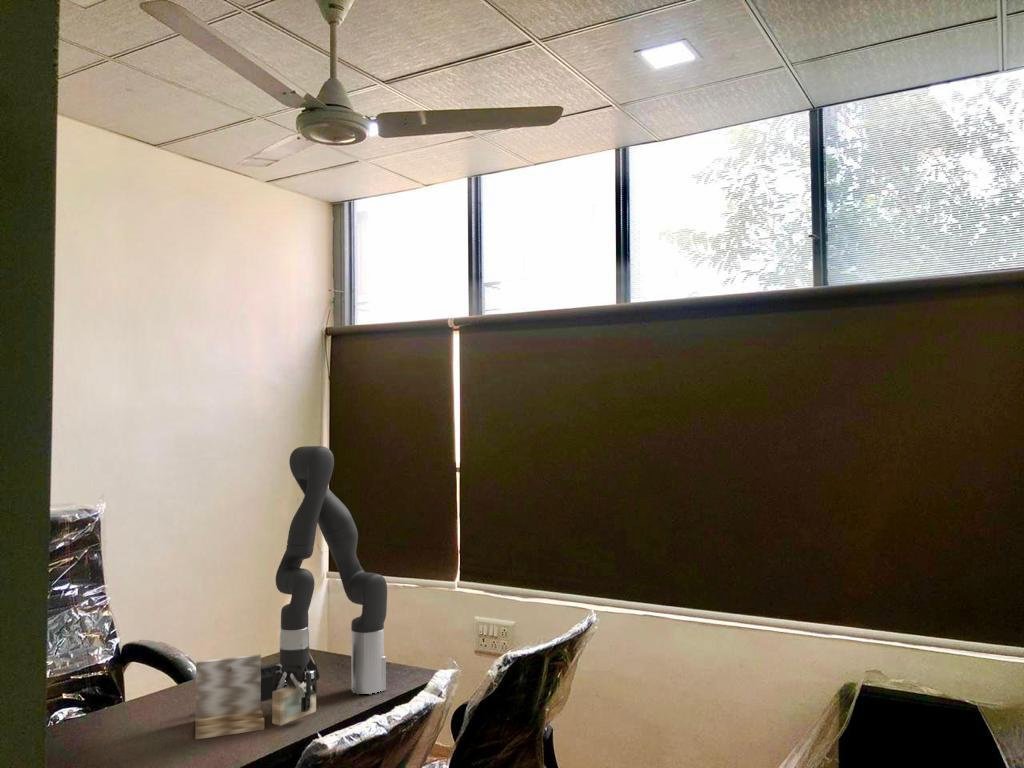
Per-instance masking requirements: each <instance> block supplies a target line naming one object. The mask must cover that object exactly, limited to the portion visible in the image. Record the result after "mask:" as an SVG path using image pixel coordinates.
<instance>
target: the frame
mask: <svg viewBox="0 0 1024 768" xmlns="http://www.w3.org/2000/svg"><path fill="white" fill-rule="evenodd" d="M302 684H304V682H303V683H302ZM302 684H301V685H302ZM311 690H312V686H311ZM304 691H305V692H306V689H305V688H304ZM301 697H302V695H301V693H300V691H299V690H297V688H296V686H293V685H290V686H287V687H285V688H282V689H279V690H276V691H273V692H272V699H271V700H272V702H271V703H272V704H271V705H272V709H271V710H272V712H271V716H272V717H271V718H272V719H271V720H272V721H271V722H272V724H274V725H277V726H282V725H285V724H287V723H290V721H291V722H293V721H296V720H298V719H301V718H303V717H305V716H308V715H311V714H313V713H315V712H317V693H316V694H313V695H311V697H310V709H309V711H306V712H302V711H301Z"/></svg>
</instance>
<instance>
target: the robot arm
mask: <svg viewBox="0 0 1024 768" xmlns="http://www.w3.org/2000/svg"><path fill="white" fill-rule="evenodd" d="M334 466H335V457H334V454H333V452H332V451H331V449H330V448H328V447H326V446H321V445H319V446H318V445H311V446H310V445H309V446H308V445H307V446H299V447H296V448H295V449H293V450H292V452H291V454H290V456H289V469H290V471H291V474H292V476H293V478H294V479H295V481H296V483H297V485H298V486H299V489H300V490H301V491H302V493H303V495H304V497H303V499H302V502H301V503H300V506H299V507H298V508H297V510H296V511H295V513H294V516H293V517H292V520H291V522H290V524H289V525H290V526H289V529H288V535H287V536H288V537H287V539H286V540H287V541H286V542H287V543H286V549H285V552H284V554H283V555H282V558H281V560H280V563H279V565H278V567H277V571H276V574H275V586H276V589H277V590H278V592H280V593H281V594H283V595H290V596H291V597H290V601H289V603H287V604H285V605H283V606H282V607H281V610H280V611H281V612H280V633H279V662H280V664H277V665H274V666H273V683H272V686H273V688H276V689H277V690H279V689H282V688H285V687H287V686H289V685H293V686H296V688H297V690H299V691H300V693H301V695H302V697H301V711H302V712H306V711H309V709H310V697H311V695H313V694H316V695H317V693H318V690H317V689H318V688H317V686H318V685H317V681H316V671H315V670H312V671H308V670H307V663H308V662H309V653H310V629H309V610H310V607H311V603H312V599H313V594H314V590H315V578H314V575H313V573H312V571H310V570H309V569H307V568H302V567H301V566H302V564H303V561H304V560H307V559H310V558H311V557H312V556H313V553H314V546H315V541H316V536H317V535H316V534H317V529H318V528H317V527H319V530H320V532H321V534H322V536H323V539H324V541H325V543H326V544H327V546H328V549H329V551H330V554H331V557H332V558H333V561H334V563H335V565H336V568H337V571H338V575H339V578H340V580H341V584H342V587H343V590H344V593H345V595H346V597H347V599H348V600H349V601H350V602H351V603H353V604H355V605H361V607H362V608H361V615H360V616H356V617H355V618H353V619H352V621H351V626H350V628H351V629H350V631H351V634H350V635H351V639H350V640H351V641H350V643H351V649H350V651H351V685H350V686H351V692H352V693H353V694H355V693H356V694H355V695H359V694H369V695H373V694H372V693H375V694H378V693H377V692H379V693H381V692H386V691H385V690H387V675H386V673H387V670H386V669H387V668H386V667H387V663H386V656H385V641H384V640H385V638H384V636H385V635H384V634H385V633H384V632H385V631H384V628H385V626H384V625H385V621H386V618H387V608H388V607H387V606H388V584H387V580H386V578H385V577H384V576H383V575H382V574H380V573H374V572H366V571H365V570H364V569H363V567H362V566H361V564H360V561H359V558H358V556H357V549H358V548H357V547H358V542H359V541H358V539H359V534H358V533H359V532H358V529H357V526H356V523H355V521H354V519H353V517H352V514H351V512H350V511H349V509H348V508H347V507H346V505H345V504H344V503H343V502H342V501H341V500H340V499H339V498H338V497H337V496H336V495H335V494H334V493H333V492H332V490H331V489H330V488H329V484H330V481H331V478H332V475H333V470H334ZM277 679H278V682H277ZM303 682H304V684H302V683H303ZM301 684H302V685H301ZM311 686H312V690H311ZM304 688H305V689H306V692H305V691H304ZM380 691H381V692H380Z"/></svg>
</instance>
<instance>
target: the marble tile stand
mask: <svg viewBox="0 0 1024 768" xmlns="http://www.w3.org/2000/svg"><path fill="white" fill-rule="evenodd" d="M261 667H262V656H261V654H253V655H243V656H235V657H226V658H216V659H206V660H198V661H195V668H196V669H195V734H194V735H195V738H194V739H195V740H202V739H208V738H215V737H221V736H222V737H223V736H229V735H236V734H243V733H248V732H257V731H264V730H265V717H264V715H263V710H261V709H262V707H261V706H262V705H261V703H262V702H261Z"/></svg>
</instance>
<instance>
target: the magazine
mask: <svg viewBox="0 0 1024 768" xmlns="http://www.w3.org/2000/svg"><path fill="white" fill-rule="evenodd" d="M277 664H280V661H277V662H274V663H270V664H266V665H261V701H262V702H265V700H266V701H269V700H270V701H271V700H272V692H273V691H276V690H277V689H276V688H273V686H272V683H273V666H274V665H277ZM307 670H308V671H312V670H315V671H316V682H317V681H318V680H319V679H320V673H319V670H318V666H317V664H316V663H315V661H314V659H313V657H312V654H311V653H310V652H309V662H308V663H307ZM277 682H278V679H277ZM289 686H290V685H289Z"/></svg>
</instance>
